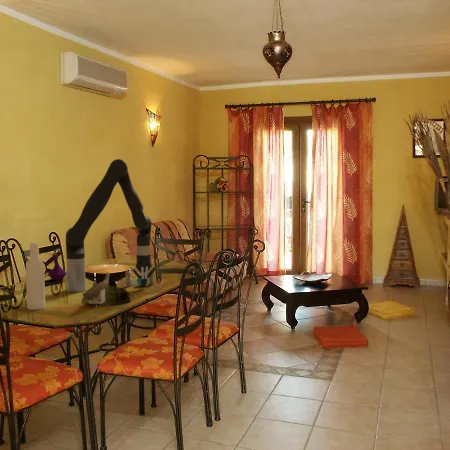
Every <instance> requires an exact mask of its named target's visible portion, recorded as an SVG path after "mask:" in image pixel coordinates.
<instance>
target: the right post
mask: <svg viewBox="0 0 450 450" xmlns="http://www.w3.org/2000/svg"><path fill="white" fill-rule="evenodd" d="M149 272H150V270H149V271H148V273H149ZM148 283H149V284H148V285H150V286H153V285H155V271H154V272H153V274H152V275H151V276H150V277H149V278H148Z"/></svg>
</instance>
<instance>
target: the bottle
mask: <svg viewBox="0 0 450 450" xmlns="http://www.w3.org/2000/svg"><path fill="white" fill-rule="evenodd" d="M29 250H30V258H29V259H28V260H27V261H26V264H25V282H26V306H27V307H26V308H27V309H28V310H32V311H35V310H36V311H37V310H42V309H45V308H46V289H45V288H46V287H45V286H46V285H45V284H46V282H45V281H46V280H45V264H44V262H43V260H42V259H41V258H40V251H39V250H40V245H39V242H30V243H29Z"/></svg>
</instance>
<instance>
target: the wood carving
mask: <svg viewBox="0 0 450 450" xmlns="http://www.w3.org/2000/svg"><path fill="white" fill-rule="evenodd" d="M109 280H110V272H109V271H107V272H106V275H105V278H104V279H102V281H101V282H99V283H97V280H94V281H93V283H92V284H93V285H92V286H91V287H90V288H89V289H87V290H86V291H84V293H82V296H83V297H84V298H83V300H82V301H83V302H84V301H86V300H88V304H91V305H102V304H103V303H105V302H106V290H107V289H108V287H109V285H110V284H109V282H110V281H109Z"/></svg>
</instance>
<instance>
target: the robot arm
mask: <svg viewBox="0 0 450 450" xmlns="http://www.w3.org/2000/svg"><path fill="white" fill-rule="evenodd" d="M117 184H118V185H119V186H120V189H121V190H122V194H123V197H124V199H125V202H126V205H127V207H128V209H129V210H130V213H131V218H132V222H133V224H134V226H135V227H136V229H137V230H138V234H137V236H136V249H135V250H136V251H135V252H136V264H135V267H133V268H132V269H131V271H132V272H133V274H134V275H135V277H137V278H141V285H142V286H141V287H146V286H147V285H148V284H147V278H148V279H149V277H150V276H151V275H152V274H153V272H154V273H155V271H156V267H154V266H153V265H152V262H151V261H152V260H151V259H152V254H151V253H152V252H151V233H152V220H151V218H150V217H149V216H147V215H145V213H144V205H143V203H142V201H141V199H140V197H139V195H138V193H137V190H136V189H135V187H134V186H133V185H134V184H133V183H132V180H131V177H130V173H129V168H128V164H127V163H126V162H125V161H124V160H123V159H119V158H117V159H114V160H112V162H110V164H109V166H108V168H107V170H106V172H105V174H104V176H103V178H102V179H101V181H100V182H99V184H98V185H97V186H96V187H95V188H94V190H93V192H92V193H91V194H90V196H89V197H88V199H87V201H86V202H85V205H84V206H83V209H82V212H81V214H80V216H79V218H78V220H76V222H75V224H73V226H71V227H70V228H68V230H66V233H65V256H66V271H65V272H66V275H65V277H66V278H65V279H66V291H67V292H68V293H78V292H79V293H80V292H85V290H86V261H85V259H86V257H85V255H86V253H85V239H86V237H87V235H88V233H89V231H90V229H91V227H92V226H93V224H94V223H95V222H96V220H97V219H98V217H99V216H100V215H101V213H103V210H104V209H105V208H106V206H107V204H108V203H109V201H110V199H111V196H112V194H113V191H114V189H115V187H116V186H117ZM149 270H150V272H149ZM138 272H139V273H138Z"/></svg>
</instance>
